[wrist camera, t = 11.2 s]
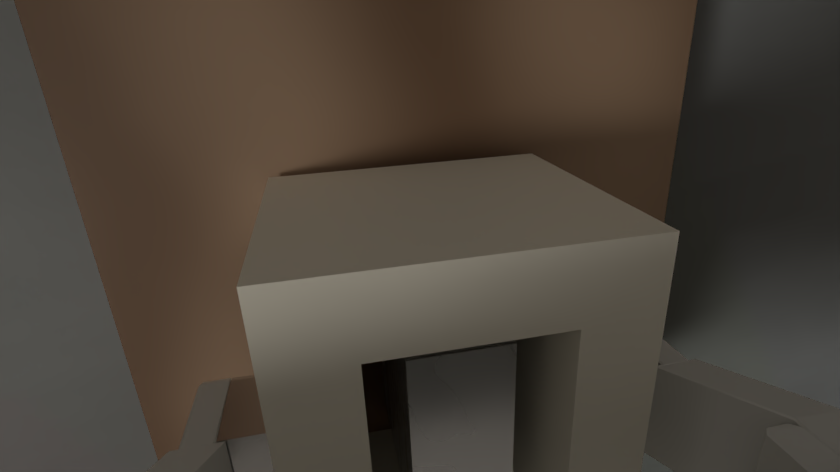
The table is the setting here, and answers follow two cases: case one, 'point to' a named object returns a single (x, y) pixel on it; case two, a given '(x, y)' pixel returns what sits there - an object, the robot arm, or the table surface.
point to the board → (321, 133)
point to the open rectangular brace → (456, 305)
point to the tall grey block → (453, 409)
